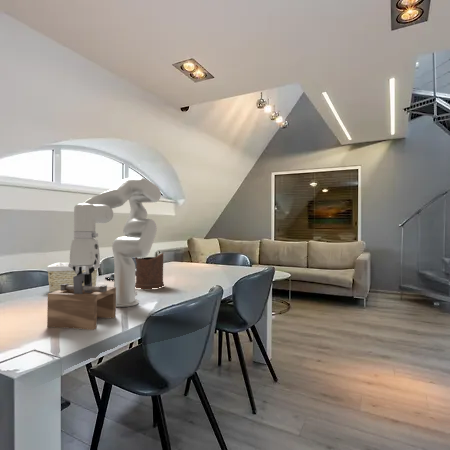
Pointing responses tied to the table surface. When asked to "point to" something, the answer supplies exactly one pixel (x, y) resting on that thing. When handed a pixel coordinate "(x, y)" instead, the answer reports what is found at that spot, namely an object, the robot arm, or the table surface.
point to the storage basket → (64, 276)
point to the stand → (80, 306)
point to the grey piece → (80, 283)
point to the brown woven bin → (149, 272)
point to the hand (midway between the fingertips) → (83, 283)
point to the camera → (110, 277)
